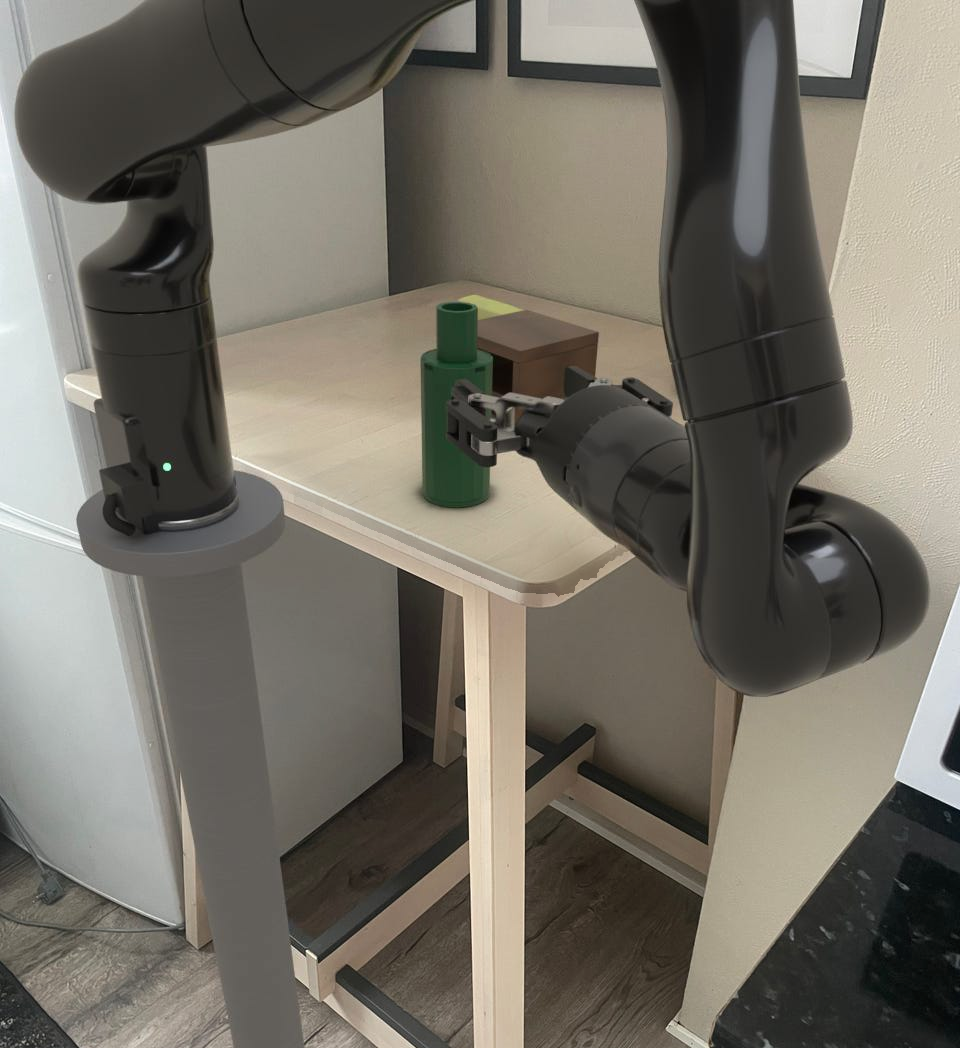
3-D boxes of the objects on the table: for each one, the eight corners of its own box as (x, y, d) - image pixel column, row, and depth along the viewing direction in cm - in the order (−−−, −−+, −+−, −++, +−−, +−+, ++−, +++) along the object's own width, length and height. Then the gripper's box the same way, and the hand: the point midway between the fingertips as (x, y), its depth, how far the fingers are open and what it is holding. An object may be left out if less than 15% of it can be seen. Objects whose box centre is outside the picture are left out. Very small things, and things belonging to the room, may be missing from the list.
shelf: (517, 430, 99) (520, 351, 95) (448, 400, 106) (448, 326, 102) (593, 407, 105) (599, 331, 101) (523, 381, 112) (526, 309, 108)
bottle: (451, 513, 83) (451, 320, 74) (409, 491, 86) (405, 304, 78) (502, 495, 86) (509, 308, 77) (460, 474, 89) (461, 294, 81)
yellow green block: (484, 301, 113) (448, 283, 130) (472, 350, 115) (438, 325, 132) (591, 328, 117) (542, 306, 135) (578, 374, 119) (532, 347, 137)
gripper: (738, 393, 58) (606, 323, 71) (519, 423, 53) (419, 343, 66) (720, 509, 62) (598, 423, 75) (514, 546, 57) (421, 448, 70)
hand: (514, 386), depth 70 cm, fingers open, 8 cm apart
